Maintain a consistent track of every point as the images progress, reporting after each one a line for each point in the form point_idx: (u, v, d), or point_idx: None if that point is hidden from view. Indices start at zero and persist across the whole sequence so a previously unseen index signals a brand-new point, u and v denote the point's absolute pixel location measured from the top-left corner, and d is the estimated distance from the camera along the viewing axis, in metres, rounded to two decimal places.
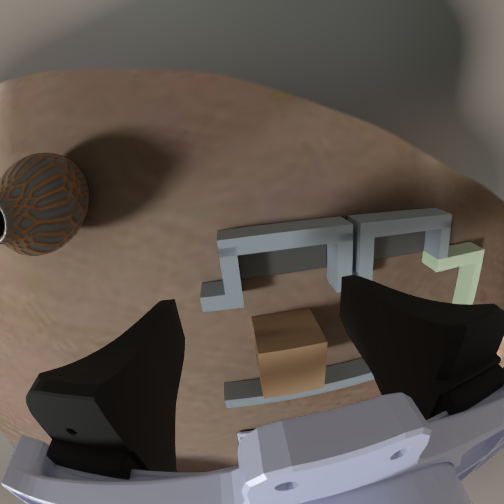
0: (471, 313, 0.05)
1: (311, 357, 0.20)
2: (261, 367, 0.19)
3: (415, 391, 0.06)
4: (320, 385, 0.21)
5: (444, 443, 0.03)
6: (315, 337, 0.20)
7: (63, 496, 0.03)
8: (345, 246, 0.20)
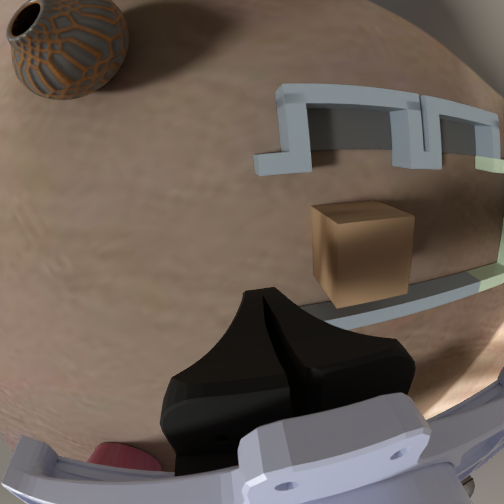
0: (352, 351, 0.05)
1: (397, 239, 0.15)
2: (340, 248, 0.15)
3: None
4: (403, 288, 0.16)
5: (444, 443, 0.03)
6: (398, 213, 0.15)
7: (63, 496, 0.03)
8: (414, 115, 0.15)
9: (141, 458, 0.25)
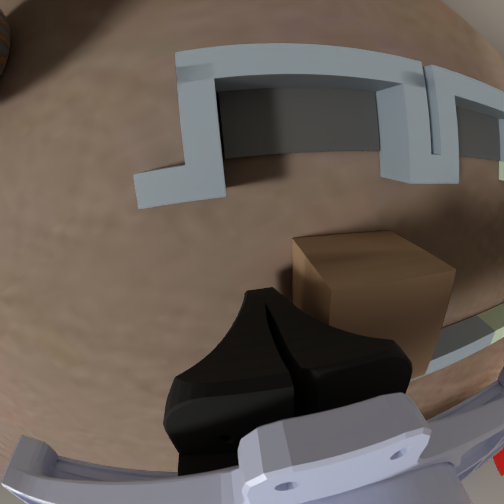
0: (349, 352, 0.05)
1: (426, 306, 0.08)
2: None
3: None
4: (421, 370, 0.10)
5: (444, 443, 0.03)
6: (431, 263, 0.09)
7: (63, 496, 0.03)
8: (416, 94, 0.08)
9: None
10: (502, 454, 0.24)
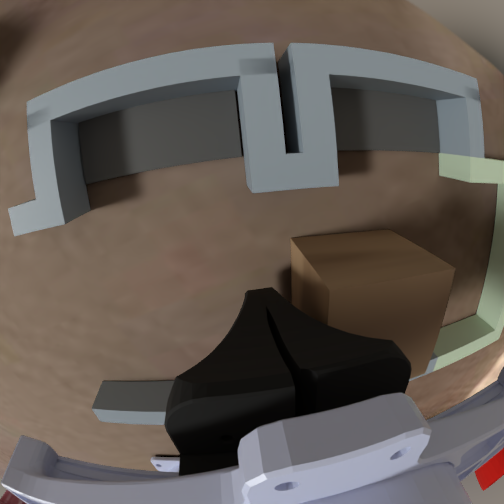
0: (347, 352, 0.05)
1: (426, 305, 0.08)
2: None
3: None
4: (421, 368, 0.10)
5: (444, 443, 0.03)
6: (430, 262, 0.09)
7: (63, 496, 0.03)
8: (260, 84, 0.08)
9: None
10: (483, 469, 0.24)
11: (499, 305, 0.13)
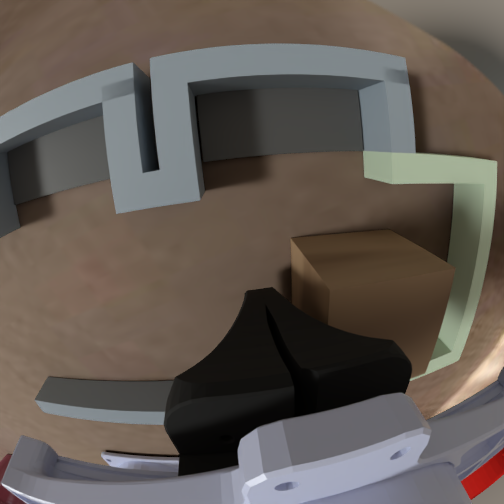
0: (348, 352, 0.05)
1: (426, 305, 0.08)
2: None
3: None
4: (421, 368, 0.10)
5: (444, 443, 0.03)
6: (430, 262, 0.09)
7: (63, 496, 0.03)
8: (118, 107, 0.08)
9: None
10: (464, 482, 0.24)
11: (456, 324, 0.13)
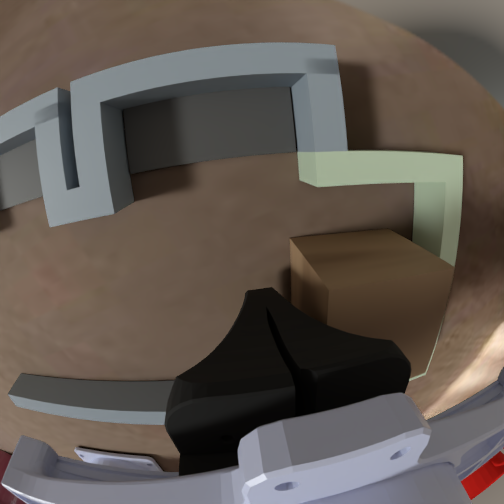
0: (347, 352, 0.05)
1: (425, 304, 0.08)
2: None
3: None
4: (421, 368, 0.10)
5: (444, 443, 0.03)
6: (429, 261, 0.09)
7: (63, 496, 0.03)
8: (46, 131, 0.08)
9: None
10: None
11: None
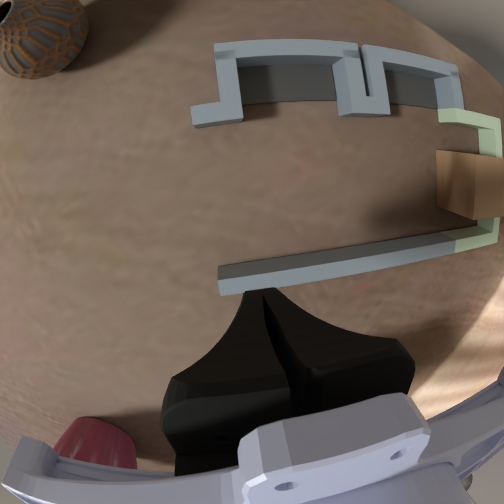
0: (352, 351, 0.05)
1: (500, 173, 0.15)
2: (476, 172, 0.15)
3: None
4: (502, 212, 0.17)
5: (444, 443, 0.03)
6: None
7: (63, 496, 0.03)
8: (353, 62, 0.15)
9: (112, 433, 0.25)
10: None
11: None
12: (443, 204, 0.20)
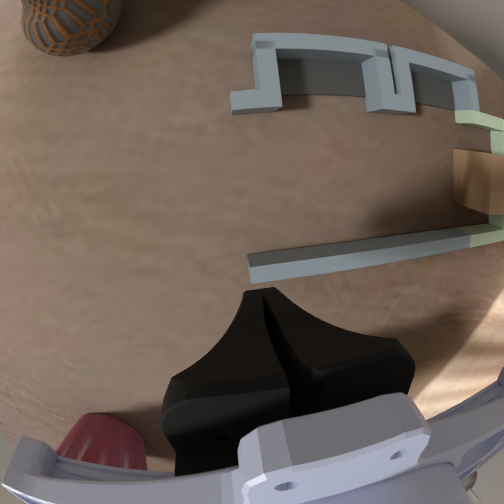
0: (352, 351, 0.05)
1: None
2: (492, 170, 0.15)
3: None
4: None
5: (444, 443, 0.03)
6: None
7: (63, 496, 0.03)
8: (383, 61, 0.15)
9: (122, 430, 0.25)
10: None
11: None
12: (459, 200, 0.20)
